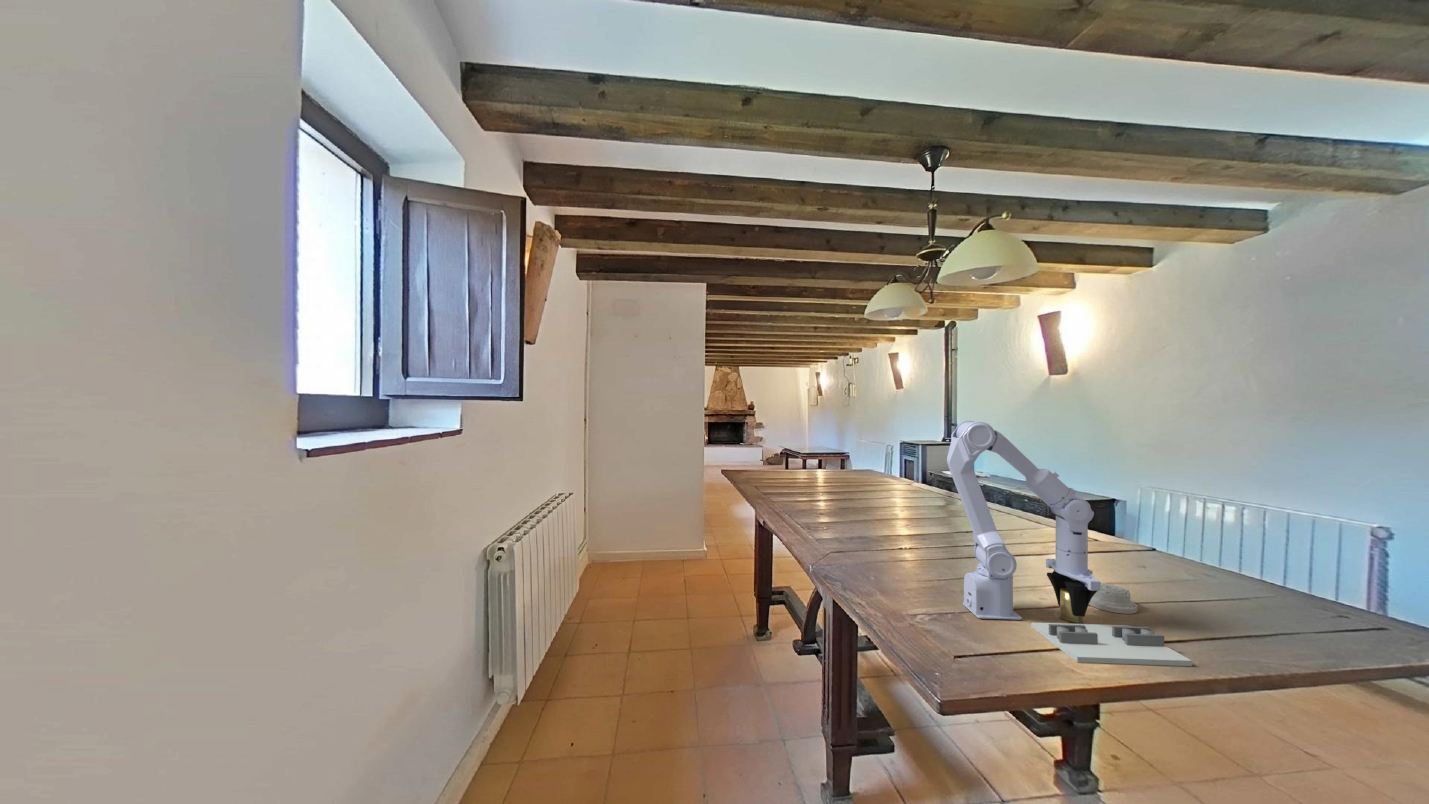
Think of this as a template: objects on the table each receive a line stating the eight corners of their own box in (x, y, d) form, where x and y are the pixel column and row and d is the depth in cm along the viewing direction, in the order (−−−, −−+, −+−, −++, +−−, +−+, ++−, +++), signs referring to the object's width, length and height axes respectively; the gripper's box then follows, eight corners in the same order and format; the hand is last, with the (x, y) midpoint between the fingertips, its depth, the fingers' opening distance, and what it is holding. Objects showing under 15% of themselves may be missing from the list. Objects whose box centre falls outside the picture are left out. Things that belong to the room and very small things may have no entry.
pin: (1068, 622, 103) (1068, 594, 103) (1055, 614, 107) (1055, 587, 107) (1087, 623, 102) (1087, 595, 103) (1074, 614, 106) (1074, 588, 107)
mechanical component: (1149, 616, 107) (1116, 598, 117) (1149, 596, 108) (1116, 580, 117) (1102, 614, 108) (1073, 596, 118) (1101, 594, 108) (1073, 579, 118)
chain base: (1077, 662, 87) (1077, 646, 87) (1031, 627, 101) (1031, 613, 101) (1191, 666, 86) (1191, 649, 86) (1129, 630, 100) (1129, 615, 100)
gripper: (1116, 560, 97) (1116, 626, 97) (1067, 540, 112) (1067, 598, 112) (1080, 559, 98) (1080, 625, 98) (1036, 539, 112) (1036, 597, 112)
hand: (1071, 611), depth 105 cm, fingers closed on pin, 4 cm apart
